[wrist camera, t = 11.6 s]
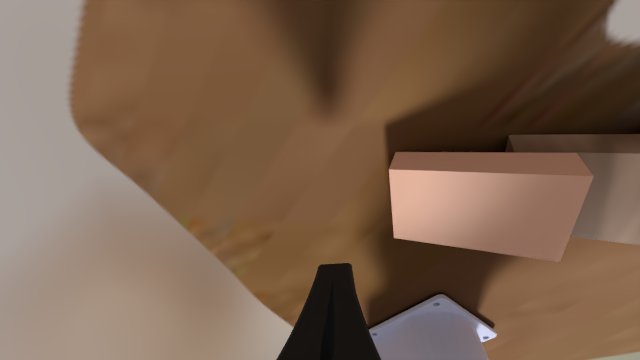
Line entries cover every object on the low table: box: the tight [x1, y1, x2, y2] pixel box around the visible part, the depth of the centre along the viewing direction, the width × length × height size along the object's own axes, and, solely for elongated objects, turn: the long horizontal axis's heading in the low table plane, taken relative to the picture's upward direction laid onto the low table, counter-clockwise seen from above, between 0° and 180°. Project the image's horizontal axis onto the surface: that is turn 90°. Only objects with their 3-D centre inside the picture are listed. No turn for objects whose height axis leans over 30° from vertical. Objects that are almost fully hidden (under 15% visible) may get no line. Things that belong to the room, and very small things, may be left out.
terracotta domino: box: [389, 152, 594, 262], centre depth 14 cm, size 2×5×8 cm
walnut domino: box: [505, 134, 640, 245], centre depth 13 cm, size 2×5×8 cm
